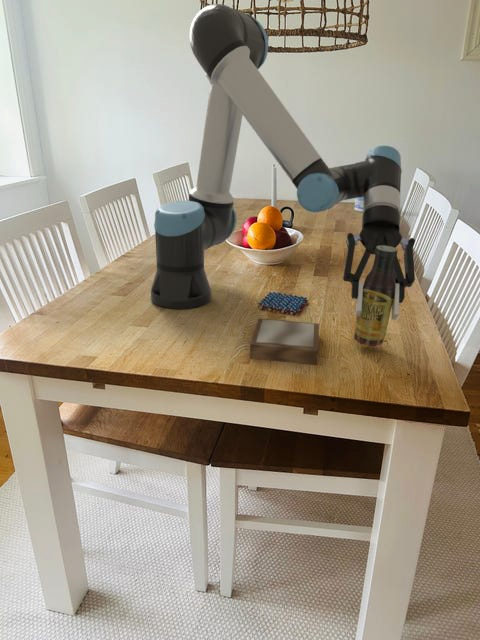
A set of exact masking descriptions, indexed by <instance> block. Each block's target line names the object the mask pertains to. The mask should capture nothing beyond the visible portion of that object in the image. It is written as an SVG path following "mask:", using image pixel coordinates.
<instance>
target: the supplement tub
mask: <svg viewBox="0 0 480 640" xmlns="http://www.w3.org/2000/svg"><path fill="white" fill-rule="evenodd" d="M363 204H364V197H359V198H355V202H354V210H355V211H356V212H359V213H363Z"/></svg>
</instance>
